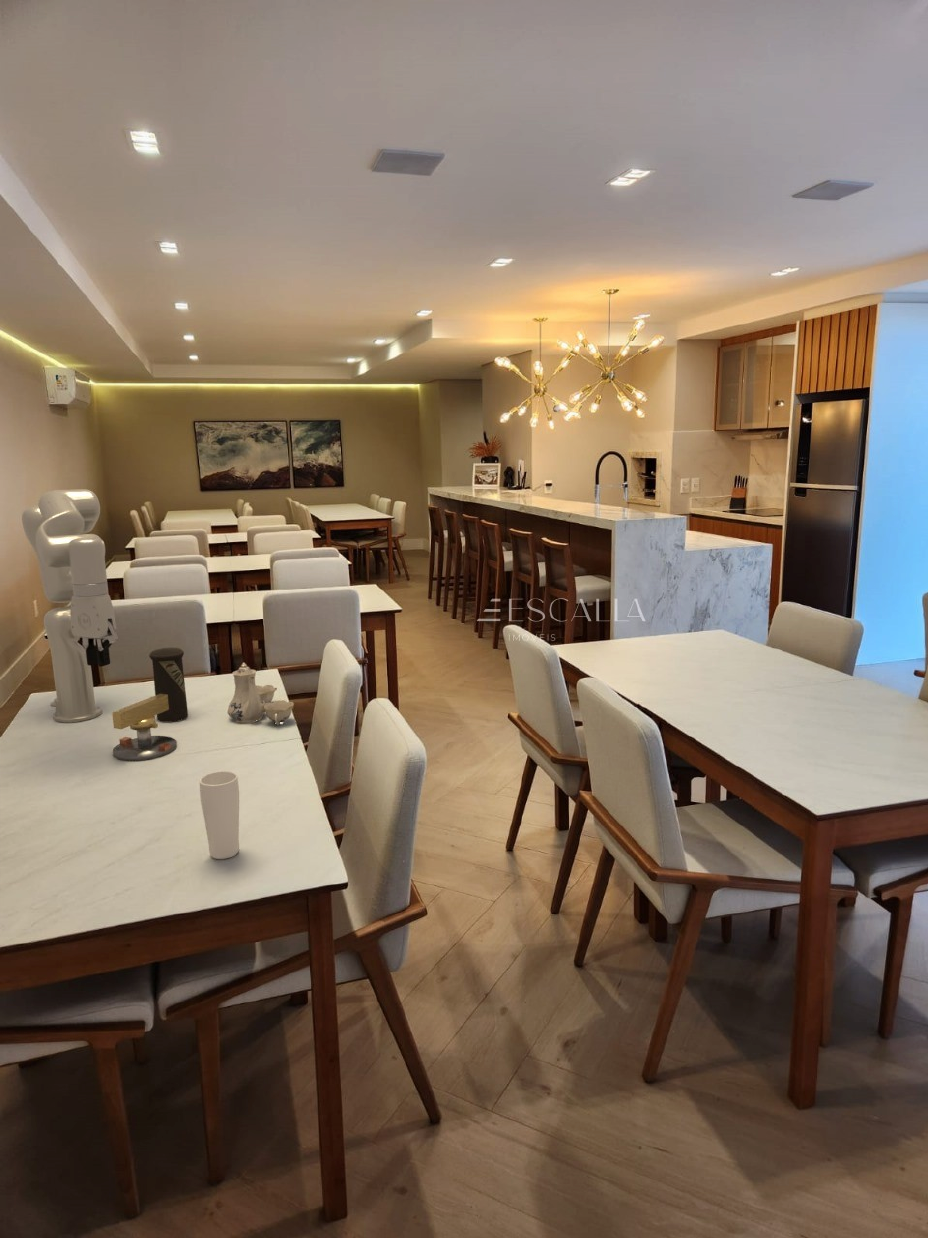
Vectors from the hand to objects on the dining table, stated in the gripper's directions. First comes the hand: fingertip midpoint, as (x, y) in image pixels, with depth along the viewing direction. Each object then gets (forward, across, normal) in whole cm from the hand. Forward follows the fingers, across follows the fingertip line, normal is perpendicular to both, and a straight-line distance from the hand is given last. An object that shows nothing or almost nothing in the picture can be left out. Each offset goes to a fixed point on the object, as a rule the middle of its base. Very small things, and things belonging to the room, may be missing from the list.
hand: (98, 664), depth 193 cm
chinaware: (+24, +18, +37) cm, 47 cm away
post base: (+23, +6, +6) cm, 25 cm away
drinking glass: (+23, +60, -30) cm, 71 cm away
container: (+23, -4, +28) cm, 36 cm away
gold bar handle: (+17, +7, +5) cm, 19 cm away
